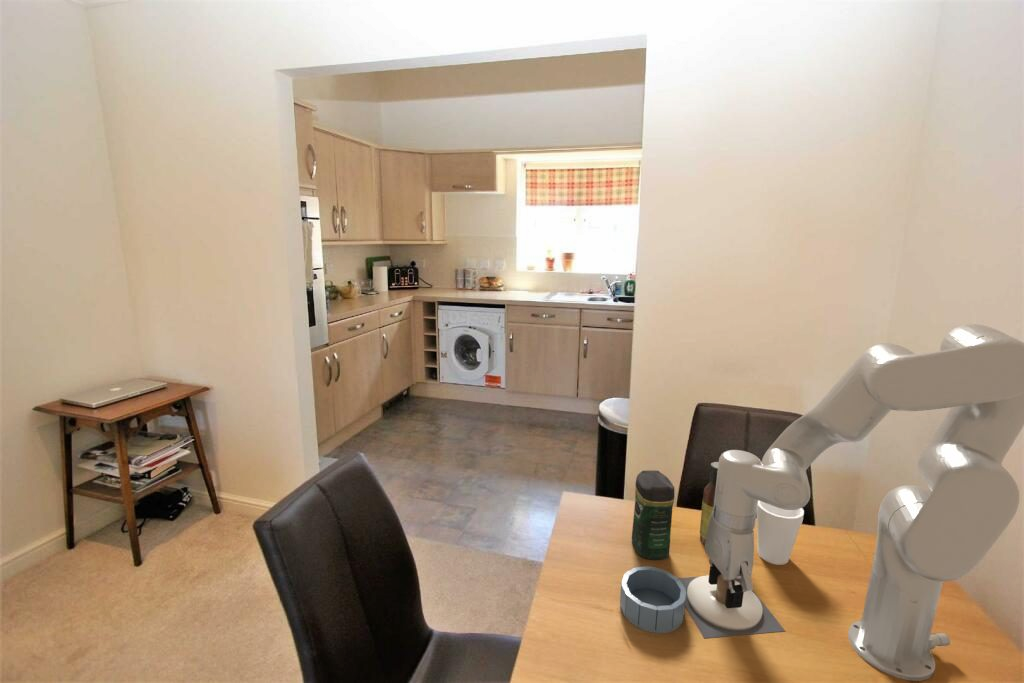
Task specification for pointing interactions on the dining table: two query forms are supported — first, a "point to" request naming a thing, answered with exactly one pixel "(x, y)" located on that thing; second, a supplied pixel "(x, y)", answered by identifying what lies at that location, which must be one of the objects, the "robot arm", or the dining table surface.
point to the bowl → (652, 599)
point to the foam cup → (777, 532)
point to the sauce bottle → (708, 502)
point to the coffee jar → (652, 515)
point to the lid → (723, 604)
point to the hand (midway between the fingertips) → (724, 593)
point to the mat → (713, 631)
